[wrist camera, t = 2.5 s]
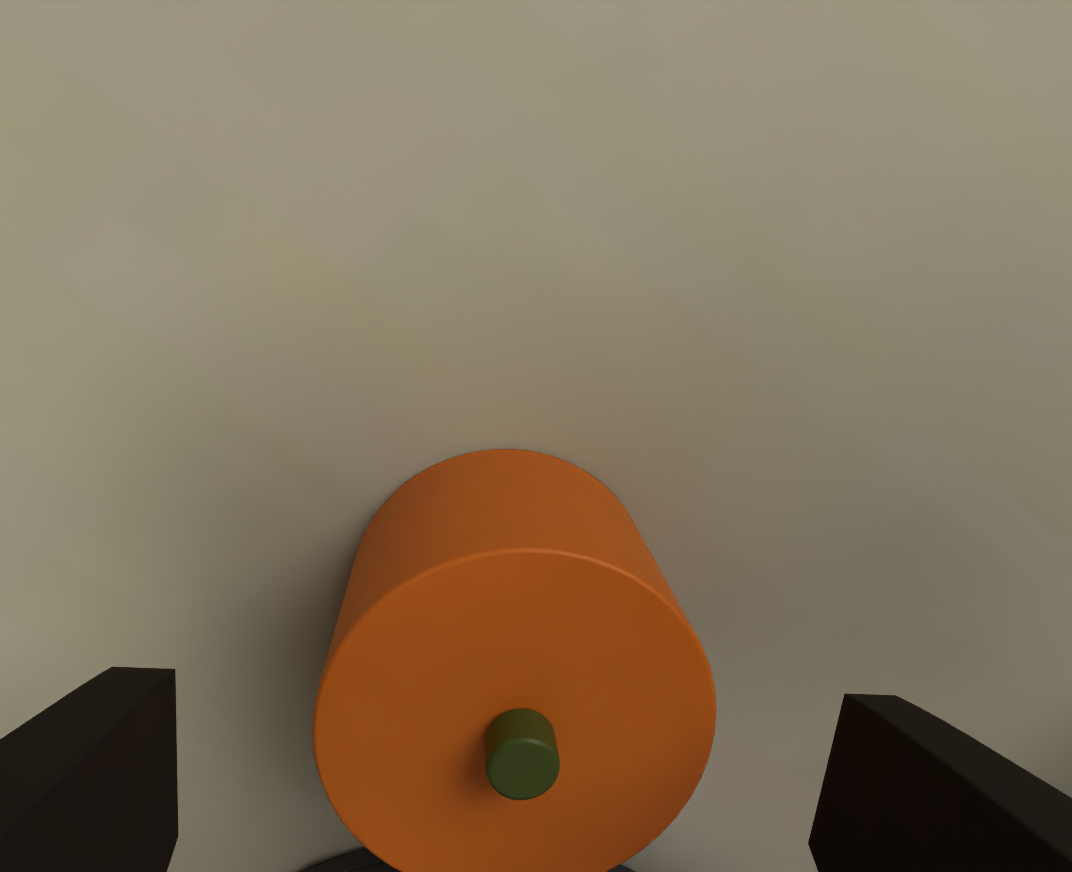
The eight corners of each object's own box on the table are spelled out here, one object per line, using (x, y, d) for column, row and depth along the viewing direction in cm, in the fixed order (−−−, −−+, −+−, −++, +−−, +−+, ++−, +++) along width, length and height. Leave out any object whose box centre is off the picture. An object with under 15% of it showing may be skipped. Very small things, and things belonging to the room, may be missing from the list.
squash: (621, 419, 12) (707, 530, 8) (664, 680, 13) (757, 890, 9) (317, 483, 12) (244, 631, 8) (392, 742, 13) (363, 982, 9)
